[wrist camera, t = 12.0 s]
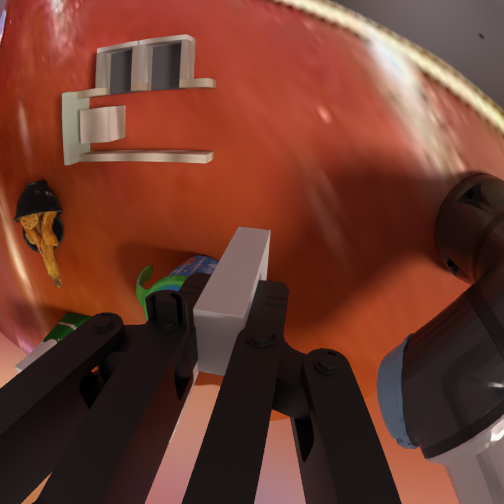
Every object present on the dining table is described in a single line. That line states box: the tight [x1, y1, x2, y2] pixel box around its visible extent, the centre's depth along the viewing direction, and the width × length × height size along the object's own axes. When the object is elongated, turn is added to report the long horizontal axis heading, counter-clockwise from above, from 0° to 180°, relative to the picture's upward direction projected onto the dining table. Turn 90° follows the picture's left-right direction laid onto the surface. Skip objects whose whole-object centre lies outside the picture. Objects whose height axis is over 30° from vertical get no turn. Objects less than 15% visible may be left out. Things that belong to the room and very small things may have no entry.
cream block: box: [80, 106, 125, 144], centre depth 36 cm, size 4×4×4 cm
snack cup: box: [136, 255, 219, 321], centre depth 41 cm, size 16×10×10 cm
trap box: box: [62, 35, 216, 165], centre depth 34 cm, size 20×16×5 cm
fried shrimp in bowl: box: [14, 180, 64, 287], centre depth 43 cm, size 9×11×18 cm
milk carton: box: [15, 313, 91, 373], centre depth 48 cm, size 9×9×20 cm
